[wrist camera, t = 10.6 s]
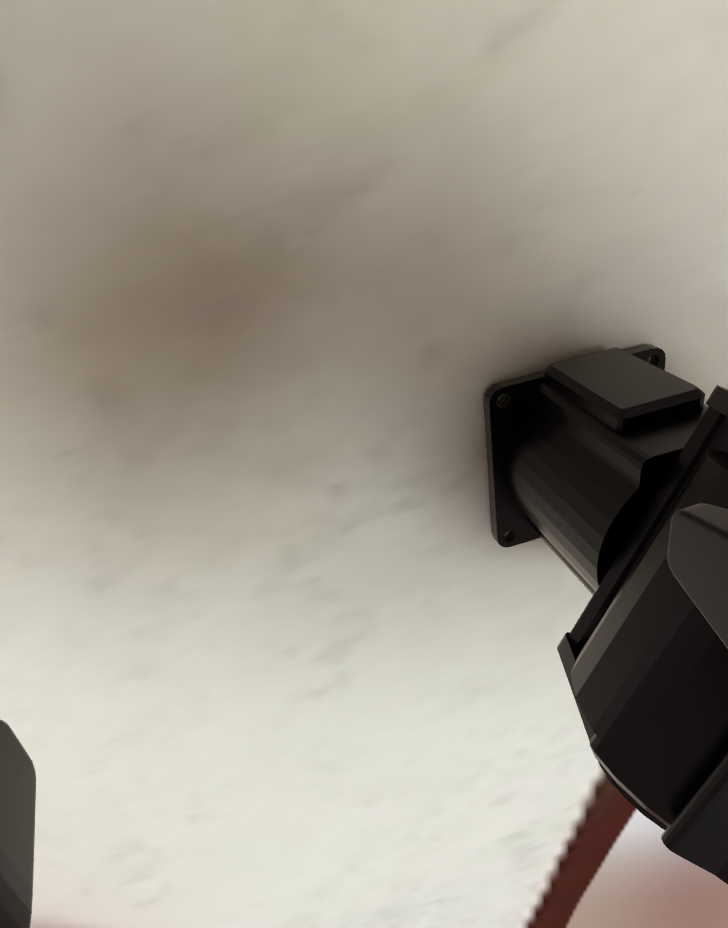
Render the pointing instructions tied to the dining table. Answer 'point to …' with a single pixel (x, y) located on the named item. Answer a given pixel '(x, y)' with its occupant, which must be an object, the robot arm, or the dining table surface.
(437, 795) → the dining table surface
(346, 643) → the dining table surface
